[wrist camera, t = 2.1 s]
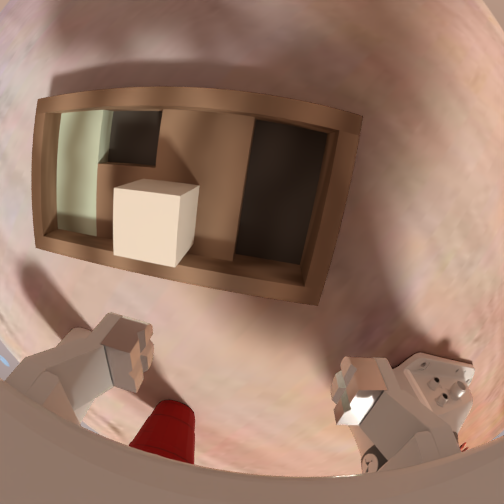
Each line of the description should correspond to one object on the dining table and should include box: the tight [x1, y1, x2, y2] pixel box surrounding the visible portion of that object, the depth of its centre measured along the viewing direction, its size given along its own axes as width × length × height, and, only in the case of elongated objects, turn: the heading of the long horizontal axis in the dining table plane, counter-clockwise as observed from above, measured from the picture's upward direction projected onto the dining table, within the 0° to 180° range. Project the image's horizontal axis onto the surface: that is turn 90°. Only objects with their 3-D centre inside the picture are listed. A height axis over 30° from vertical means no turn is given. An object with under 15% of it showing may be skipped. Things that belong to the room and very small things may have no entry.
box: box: [32, 86, 363, 306], centre depth 21 cm, size 28×15×4 cm, turn 81°
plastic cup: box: [129, 400, 195, 465], centre depth 30 cm, size 11×11×12 cm
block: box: [113, 179, 200, 267], centre depth 20 cm, size 5×5×5 cm
